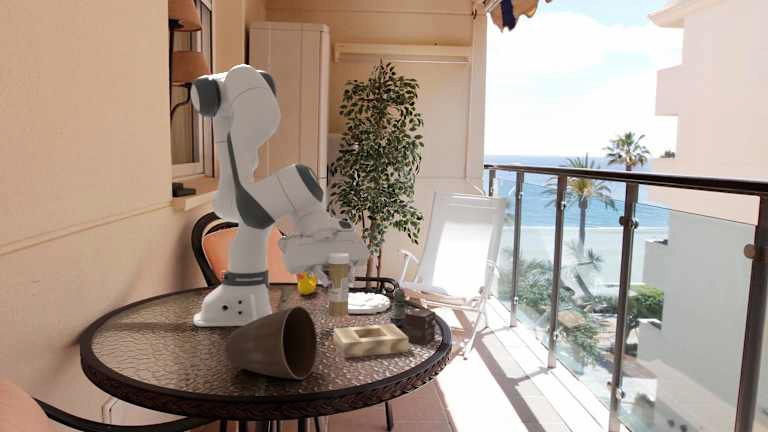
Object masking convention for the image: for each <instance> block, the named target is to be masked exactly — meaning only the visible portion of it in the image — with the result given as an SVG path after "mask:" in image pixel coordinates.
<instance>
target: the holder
mask: <svg viewBox="0 0 768 432" xmlns="http://www.w3.org/2000/svg"><path fill="white" fill-rule="evenodd" d="M333 343H334V345H335V347H336V348H337V350H338V352H339V353H340V354H341V357H343V359H344V358H357V357H365V356H377V355H378V356H379V355H388V354H399V353H408V352H409V341H408V337H407V336H406V335H405V332H404V331H401V330H399V329H398V328H397V327H396V326H395V325H394V324H392V323H389V324H386V323H385V324H373V325H361V326H350V327H349V326H348V327H337V328H336V327H335V328H333Z"/></svg>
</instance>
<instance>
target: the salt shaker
mask: <svg viewBox="0 0 768 432" xmlns="http://www.w3.org/2000/svg"><path fill="white" fill-rule="evenodd" d="M405 294H406V293H405V290H403V289H402V288H401V286H400V285H399V286H398V289H395V290H394V293H393V295H394V297H393V299H394V300H393V302H392V303H393V312H392V313H390V314H388V318H389V322H390V324H394V325H395V326H396V327H397V328H398V329H399V330H401V331H402V332H405V313H406V310H405V306H406V301H405V300H406V299H405V297H406V296H405Z"/></svg>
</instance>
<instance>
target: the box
mask: <svg viewBox="0 0 768 432" xmlns="http://www.w3.org/2000/svg"><path fill="white" fill-rule="evenodd" d="M404 334H405V335H406V336H407V337H408V343H409V342H410V343H416V344H421V345H427V344H428V343H430V342H432V341H433V340H435V338H436V335H435V334H436V311H432V310H426V309H421V308H414V309H413V310H412V309H411V310H409V311H407V312H405V331H404Z"/></svg>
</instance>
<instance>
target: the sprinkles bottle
mask: <svg viewBox="0 0 768 432" xmlns="http://www.w3.org/2000/svg"><path fill="white" fill-rule="evenodd" d="M328 263H329V270H328V276H331V279H332V281H333V283H332V284H331V286H328V302H329V307H328V311H327V314H328V316H329V317H332V318H342V317H347V316H348V315H349V314H350V313H349V312H348V300H349V293H350V292H349V291H350V290H349V288H350V287H349V284H350V283H349V276H348V265H349V264H348V263H349V254H347V253H331V254H329V255H328Z"/></svg>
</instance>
